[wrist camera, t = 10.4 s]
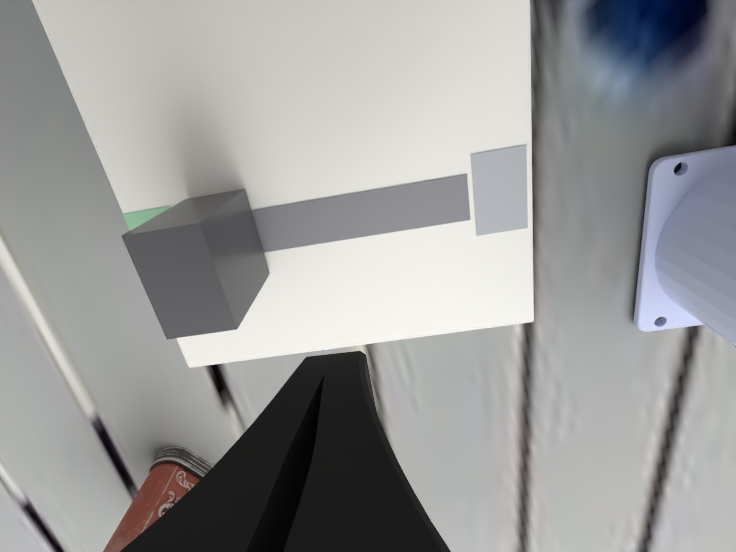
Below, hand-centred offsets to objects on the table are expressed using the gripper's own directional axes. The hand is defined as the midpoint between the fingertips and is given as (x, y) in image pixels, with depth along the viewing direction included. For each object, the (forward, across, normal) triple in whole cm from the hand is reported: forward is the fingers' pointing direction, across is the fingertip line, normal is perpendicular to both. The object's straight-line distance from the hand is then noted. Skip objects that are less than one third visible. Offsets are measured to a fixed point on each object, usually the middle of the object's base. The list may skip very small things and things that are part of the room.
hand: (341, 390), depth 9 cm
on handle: (+8, +5, -2) cm, 10 cm away
